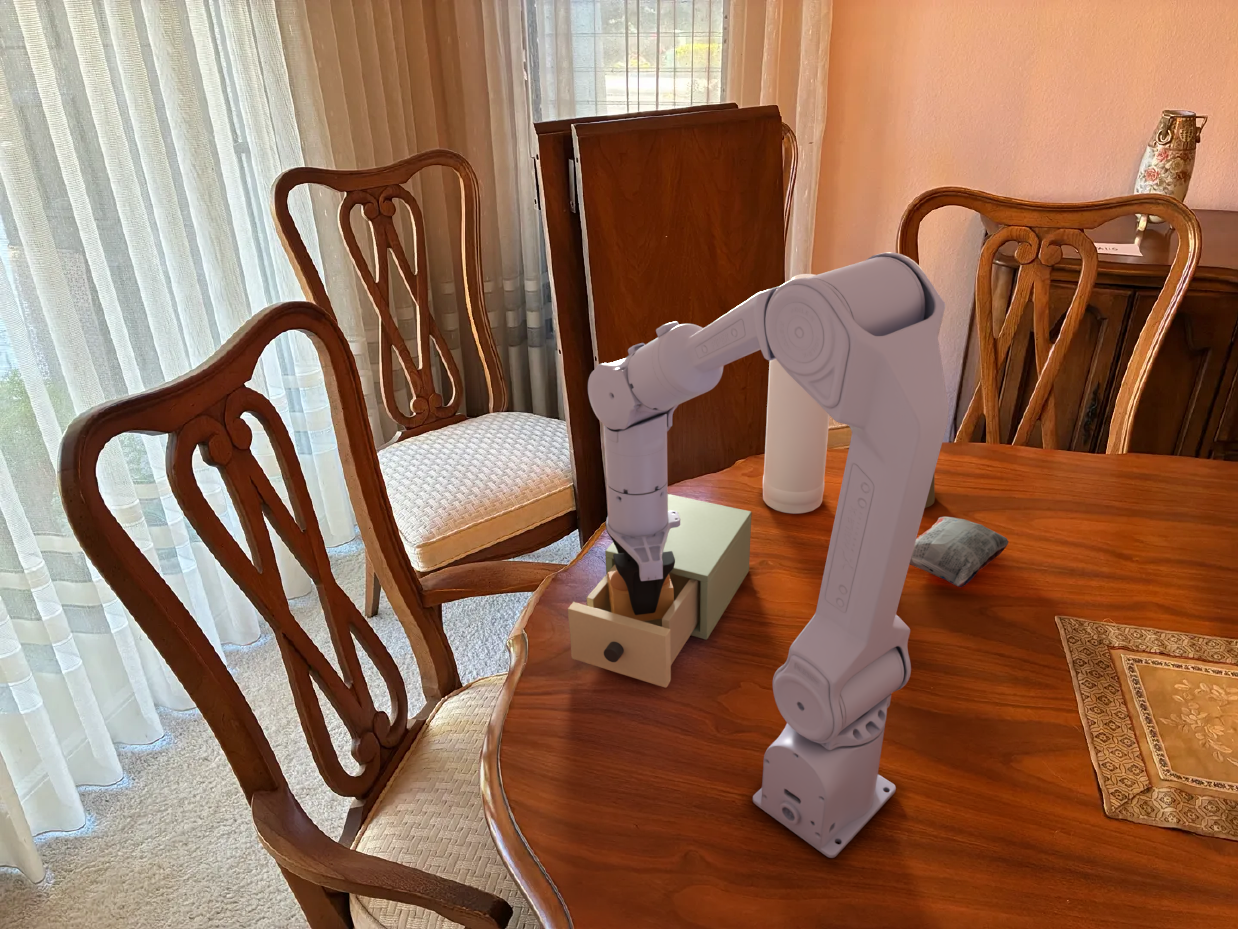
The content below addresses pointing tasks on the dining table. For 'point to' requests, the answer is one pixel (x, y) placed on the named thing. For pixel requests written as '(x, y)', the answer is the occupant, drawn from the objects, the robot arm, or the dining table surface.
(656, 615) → the light brown block
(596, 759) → the dining table surface
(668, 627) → the wooden pull-out drawer
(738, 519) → the drawer cabinet
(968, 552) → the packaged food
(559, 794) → the dining table surface
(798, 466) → the bottle
